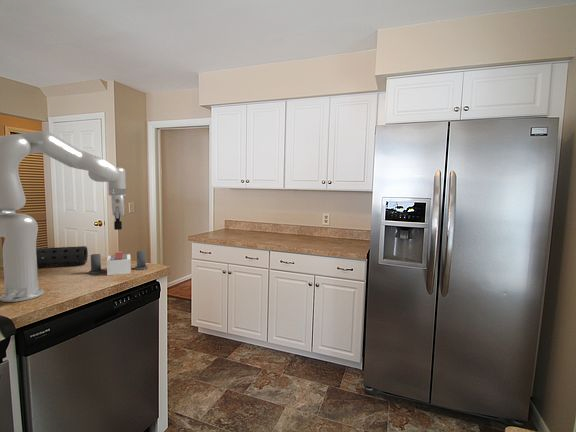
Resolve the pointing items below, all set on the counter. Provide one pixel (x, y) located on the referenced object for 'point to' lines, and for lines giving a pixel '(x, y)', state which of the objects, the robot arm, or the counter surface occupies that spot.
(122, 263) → the switch box
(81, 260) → the muzzle brake
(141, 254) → the spool right
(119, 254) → the slider
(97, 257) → the gray post with base
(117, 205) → the robot arm
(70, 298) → the counter surface
